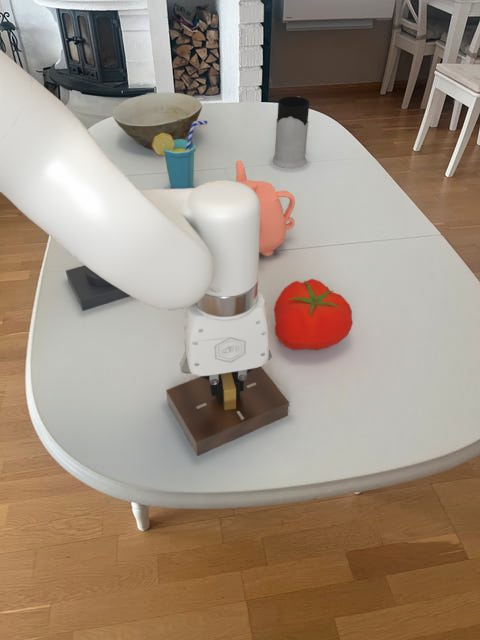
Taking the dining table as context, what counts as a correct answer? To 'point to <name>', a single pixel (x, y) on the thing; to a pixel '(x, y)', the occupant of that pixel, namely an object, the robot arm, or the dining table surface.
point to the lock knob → (228, 391)
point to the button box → (92, 288)
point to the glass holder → (291, 132)
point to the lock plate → (225, 425)
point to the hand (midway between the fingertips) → (226, 394)
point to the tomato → (311, 316)
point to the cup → (178, 157)
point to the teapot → (269, 212)
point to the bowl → (157, 116)
